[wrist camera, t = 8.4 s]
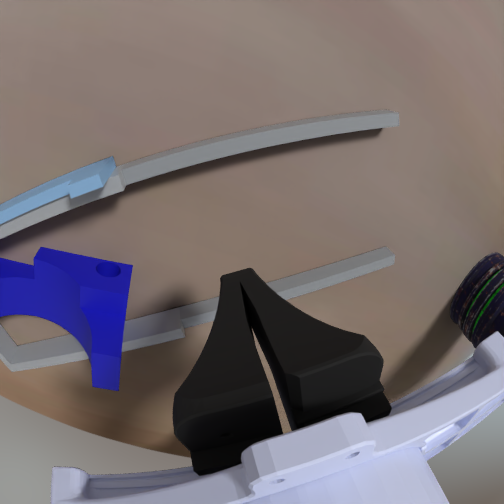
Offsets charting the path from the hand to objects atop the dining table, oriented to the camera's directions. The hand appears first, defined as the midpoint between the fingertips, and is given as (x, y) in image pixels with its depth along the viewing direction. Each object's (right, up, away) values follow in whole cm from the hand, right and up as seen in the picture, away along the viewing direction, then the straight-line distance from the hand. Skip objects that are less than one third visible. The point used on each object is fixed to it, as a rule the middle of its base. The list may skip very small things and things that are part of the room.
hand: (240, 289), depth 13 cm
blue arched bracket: (-13, 0, +3) cm, 13 cm away
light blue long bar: (-13, +4, 0) cm, 14 cm away
